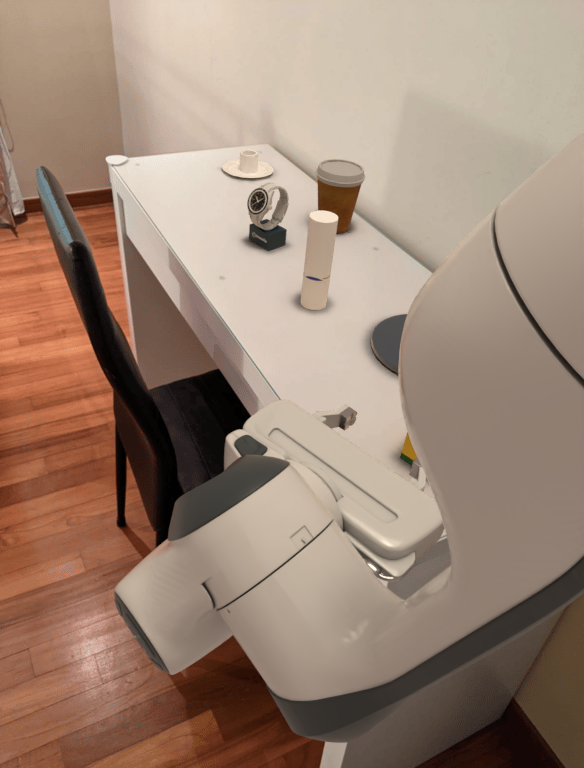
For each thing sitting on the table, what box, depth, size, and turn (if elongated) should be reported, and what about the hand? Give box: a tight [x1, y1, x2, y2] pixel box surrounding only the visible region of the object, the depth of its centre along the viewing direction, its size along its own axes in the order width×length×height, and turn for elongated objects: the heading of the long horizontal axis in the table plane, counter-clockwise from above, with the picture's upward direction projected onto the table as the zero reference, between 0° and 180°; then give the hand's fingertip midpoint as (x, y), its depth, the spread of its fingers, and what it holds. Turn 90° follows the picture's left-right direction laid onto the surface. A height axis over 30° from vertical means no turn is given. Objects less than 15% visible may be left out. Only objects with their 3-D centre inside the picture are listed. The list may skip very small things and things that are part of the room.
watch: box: [246, 182, 290, 252], centre depth 112 cm, size 6×8×11 cm
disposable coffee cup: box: [315, 158, 366, 234], centre depth 119 cm, size 10×10×12 cm
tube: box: [300, 210, 338, 311], centre depth 95 cm, size 4×4×15 cm
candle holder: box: [221, 149, 274, 179], centre depth 141 cm, size 12×12×4 cm
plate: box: [370, 313, 408, 375], centre depth 92 cm, size 17×17×1 cm
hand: (388, 436), depth 60 cm, fingers open, 8 cm apart
